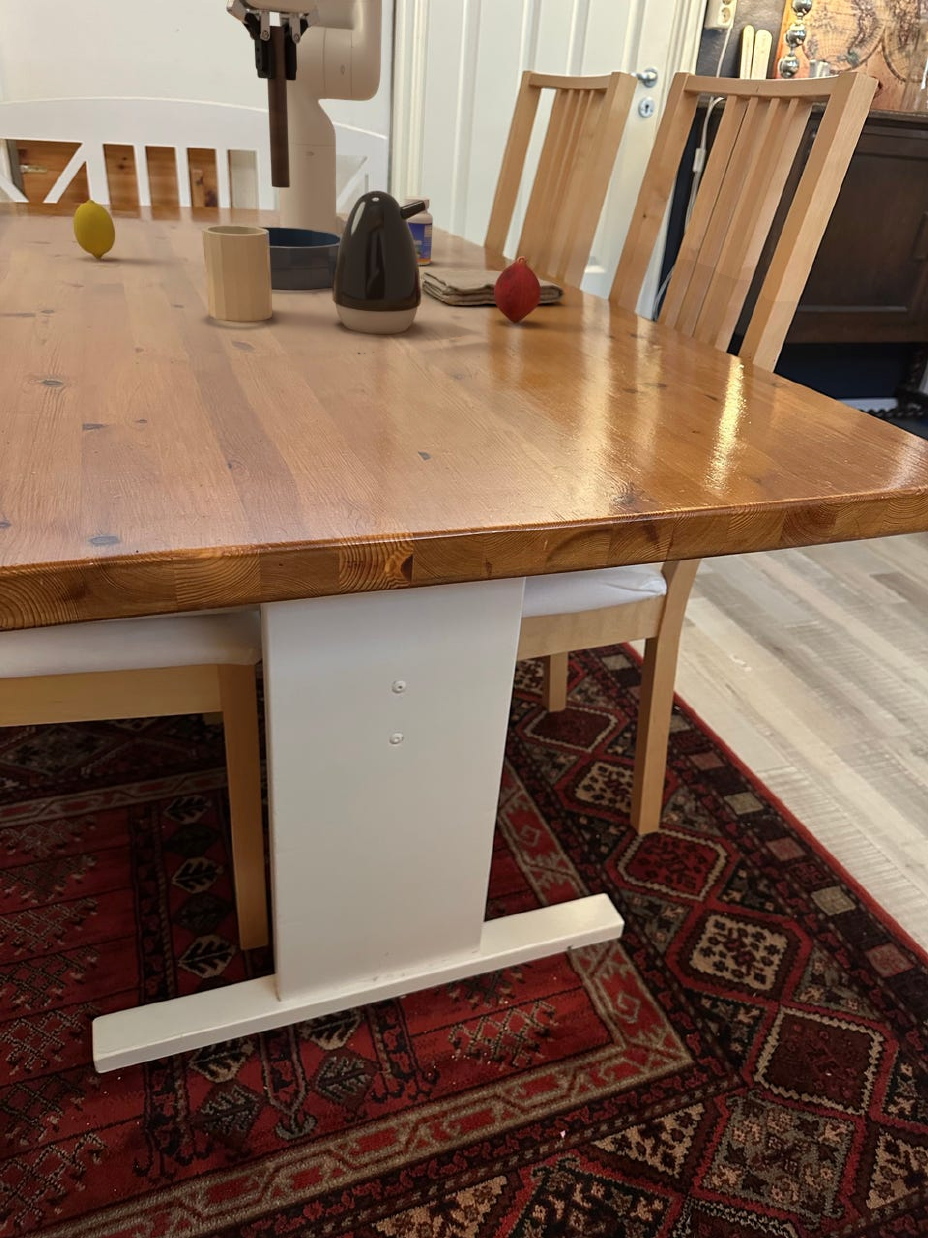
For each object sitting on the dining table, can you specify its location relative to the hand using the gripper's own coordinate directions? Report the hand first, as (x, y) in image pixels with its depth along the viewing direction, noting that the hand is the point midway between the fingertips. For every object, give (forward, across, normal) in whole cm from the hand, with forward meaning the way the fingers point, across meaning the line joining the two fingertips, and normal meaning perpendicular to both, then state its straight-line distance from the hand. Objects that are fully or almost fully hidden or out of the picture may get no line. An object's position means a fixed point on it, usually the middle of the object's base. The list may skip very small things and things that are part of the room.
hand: (276, 77), depth 114 cm
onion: (+25, -13, +33) cm, 43 cm away
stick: (+13, 0, 0) cm, 13 cm away
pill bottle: (+25, -28, -5) cm, 38 cm away
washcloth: (+25, -21, +20) cm, 38 cm away
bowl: (+25, 0, 0) cm, 25 cm away
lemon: (+25, +16, -25) cm, 39 cm away
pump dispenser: (+25, +6, +29) cm, 39 cm away
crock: (+25, +17, +17) cm, 34 cm away
